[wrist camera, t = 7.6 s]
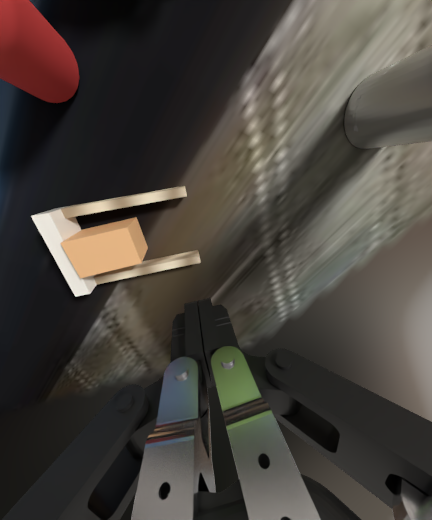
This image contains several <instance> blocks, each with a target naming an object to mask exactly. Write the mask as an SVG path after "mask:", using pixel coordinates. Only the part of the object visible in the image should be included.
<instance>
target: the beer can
mask: <svg viewBox="0 0 432 520" xmlns="http://www.w3.org/2000/svg"><path fill="white" fill-rule="evenodd" d="M0 79H2V80H4V81H6V82H8V83H10V84H12V85H14V86H16V87H18V88H20V89H22V90H24V91H26V92H28V93H29V94H31V95H33V96H35V97H37V98H40V99H42V100H44V101H46V102H52V103H60V102H65V101H67V100H68V99H70V98H71V97H72V96H73V95H74V94H75V92H76V90H77V88H78V83H79V71H78V65H77V62H76V60H75V57H74V55H73V52H72V51H71V49H70V48H69V46H68V45H67V43H66V42H65V40H64V39H63V38H62V37H61V36H60V35H59V34H58V33H57V31H56V30H55V29H54V28H53V27H52V26H51V25H50V23H49V22H48V21H47V20H46V19H45V18H44V17H43V16H42V14H41V13H40V12H39V11H38V10H37V9H36V8H35V6H34V5H33V4H32V3H31V2H30V1H29V0H0Z"/></svg>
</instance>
